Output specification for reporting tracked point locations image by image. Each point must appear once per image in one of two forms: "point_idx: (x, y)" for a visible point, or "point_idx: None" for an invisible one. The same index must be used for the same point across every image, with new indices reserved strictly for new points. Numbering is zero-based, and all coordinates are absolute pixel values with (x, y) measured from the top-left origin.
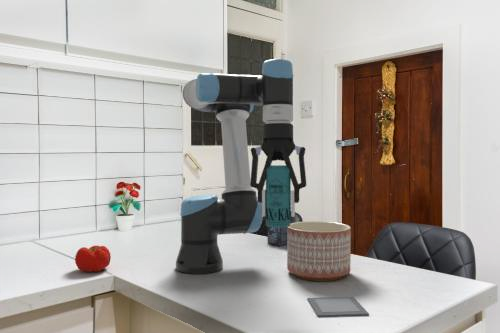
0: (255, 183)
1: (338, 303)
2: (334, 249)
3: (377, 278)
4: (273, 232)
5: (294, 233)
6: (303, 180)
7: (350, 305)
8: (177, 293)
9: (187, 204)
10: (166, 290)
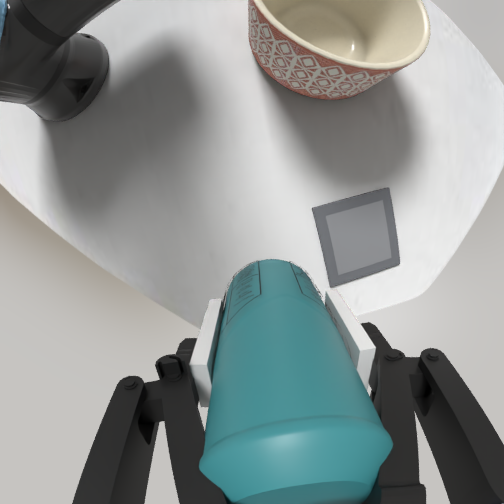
0: (155, 420)
1: (364, 229)
2: (383, 78)
3: (420, 72)
4: None
5: (282, 39)
6: (427, 409)
7: (381, 235)
8: (84, 231)
9: None
10: (64, 221)
